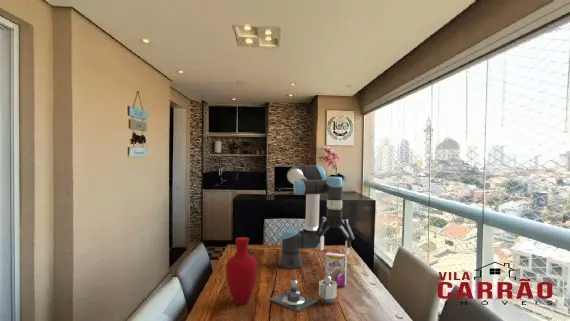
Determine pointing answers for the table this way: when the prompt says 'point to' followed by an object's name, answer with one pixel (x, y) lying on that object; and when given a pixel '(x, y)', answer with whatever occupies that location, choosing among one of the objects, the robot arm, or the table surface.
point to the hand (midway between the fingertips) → (334, 252)
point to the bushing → (327, 290)
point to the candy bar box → (336, 268)
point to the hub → (294, 299)
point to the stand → (327, 282)
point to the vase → (241, 272)
